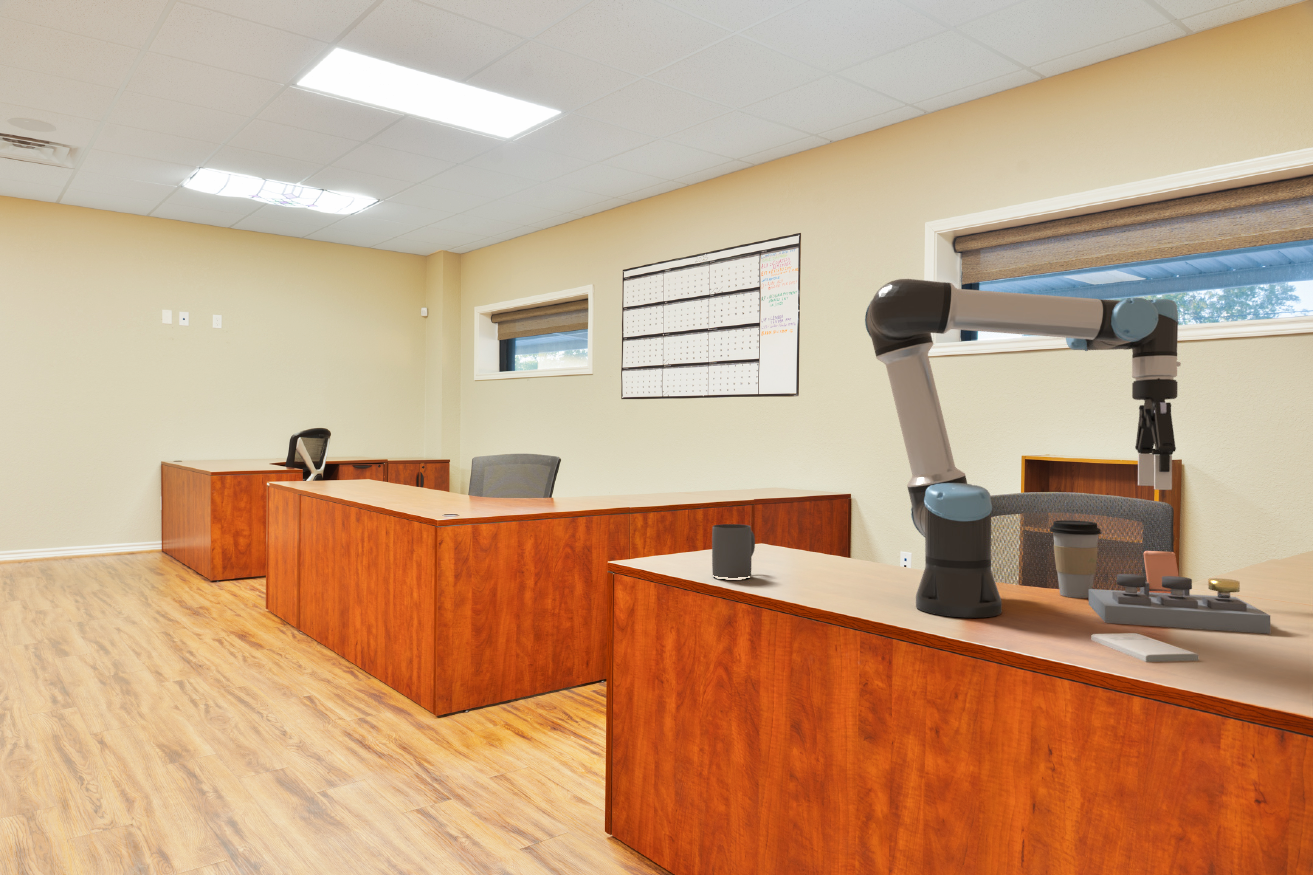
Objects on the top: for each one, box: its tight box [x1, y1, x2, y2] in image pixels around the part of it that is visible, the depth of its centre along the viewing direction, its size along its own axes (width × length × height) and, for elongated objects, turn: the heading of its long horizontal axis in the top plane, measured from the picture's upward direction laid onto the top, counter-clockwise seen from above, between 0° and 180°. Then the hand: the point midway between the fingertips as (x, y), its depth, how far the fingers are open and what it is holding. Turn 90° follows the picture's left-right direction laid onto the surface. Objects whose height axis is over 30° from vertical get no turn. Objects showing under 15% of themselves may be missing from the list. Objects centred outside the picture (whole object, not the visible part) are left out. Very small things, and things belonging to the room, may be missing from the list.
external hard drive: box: [1090, 632, 1200, 663], centre depth 120 cm, size 2×8×12 cm
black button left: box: [1116, 573, 1147, 593], centre depth 141 cm, size 4×4×3 cm
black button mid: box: [1162, 576, 1193, 596], centre depth 138 cm, size 4×4×3 cm
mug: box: [711, 523, 756, 578], centre depth 185 cm, size 14×9×12 cm
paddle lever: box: [1143, 550, 1180, 593], centre depth 148 cm, size 5×1×8 cm
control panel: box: [1088, 581, 1271, 635], centre depth 141 cm, size 24×16×5 cm, turn 70°
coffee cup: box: [1049, 519, 1102, 599], centre depth 162 cm, size 9×9×15 cm
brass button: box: [1207, 577, 1241, 598], centre depth 136 cm, size 4×4×3 cm
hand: (1154, 487), depth 155 cm, fingers open, 13 cm apart
